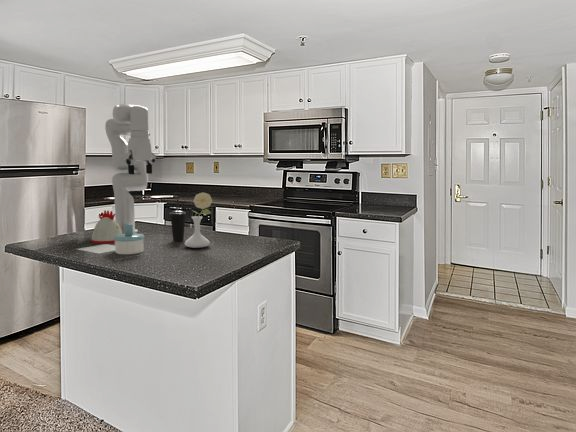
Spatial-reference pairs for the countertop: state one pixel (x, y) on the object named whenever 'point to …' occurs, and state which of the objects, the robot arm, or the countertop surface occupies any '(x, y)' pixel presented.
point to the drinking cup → (178, 224)
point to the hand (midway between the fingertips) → (140, 173)
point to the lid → (129, 234)
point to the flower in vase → (197, 238)
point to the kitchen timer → (106, 229)
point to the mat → (99, 248)
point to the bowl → (129, 247)
